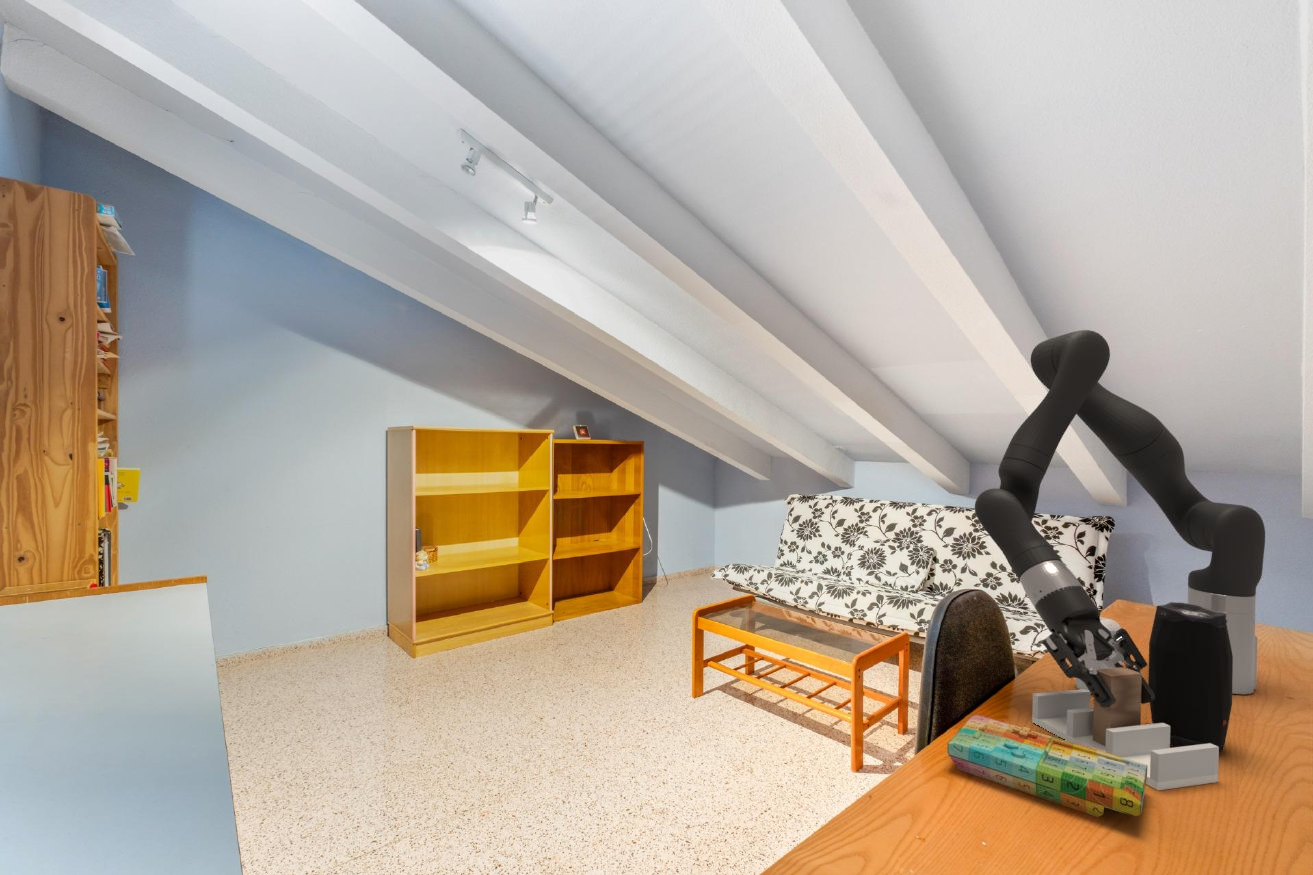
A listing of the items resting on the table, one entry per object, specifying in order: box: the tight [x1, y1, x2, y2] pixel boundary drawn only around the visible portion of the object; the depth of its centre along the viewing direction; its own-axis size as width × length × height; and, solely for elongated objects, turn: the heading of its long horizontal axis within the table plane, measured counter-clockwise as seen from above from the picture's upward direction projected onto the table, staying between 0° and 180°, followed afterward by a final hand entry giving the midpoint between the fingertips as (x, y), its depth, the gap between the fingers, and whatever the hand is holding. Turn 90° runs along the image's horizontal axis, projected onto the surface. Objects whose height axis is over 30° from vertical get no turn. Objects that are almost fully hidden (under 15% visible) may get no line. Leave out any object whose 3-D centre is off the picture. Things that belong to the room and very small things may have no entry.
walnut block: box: [1093, 666, 1143, 746], centre depth 89 cm, size 6×2×10 cm, turn 105°
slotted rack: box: [1031, 689, 1220, 791], centre depth 88 cm, size 10×19×4 cm, turn 14°
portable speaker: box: [1147, 601, 1233, 751], centre depth 91 cm, size 9×9×20 cm
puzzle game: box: [947, 714, 1148, 818], centre depth 79 cm, size 12×5×20 cm
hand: (1129, 702), depth 87 cm, fingers open, 6 cm apart
